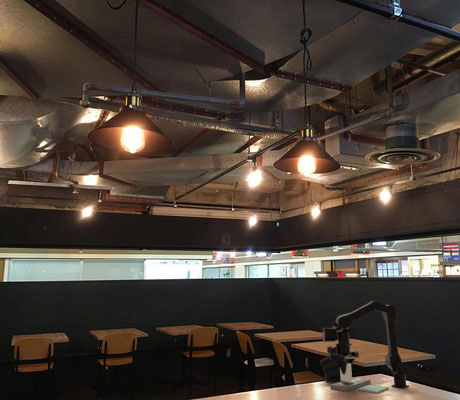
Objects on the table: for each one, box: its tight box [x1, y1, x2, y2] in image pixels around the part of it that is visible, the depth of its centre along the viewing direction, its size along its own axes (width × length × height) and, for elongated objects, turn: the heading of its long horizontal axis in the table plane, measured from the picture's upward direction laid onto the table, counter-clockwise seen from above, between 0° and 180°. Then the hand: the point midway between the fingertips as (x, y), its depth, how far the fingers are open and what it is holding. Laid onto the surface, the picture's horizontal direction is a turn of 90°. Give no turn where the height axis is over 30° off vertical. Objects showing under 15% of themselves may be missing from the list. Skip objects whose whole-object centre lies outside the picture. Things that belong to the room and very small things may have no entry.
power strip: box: [330, 377, 372, 393], centre depth 218 cm, size 28×9×3 cm, turn 135°
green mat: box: [357, 384, 389, 394], centre depth 208 cm, size 12×10×1 cm
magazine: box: [319, 354, 341, 383], centre depth 230 cm, size 4×13×15 cm, turn 88°
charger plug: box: [340, 363, 353, 381], centre depth 215 cm, size 4×4×8 cm
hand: (345, 373), depth 215 cm, fingers closed on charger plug, 4 cm apart
